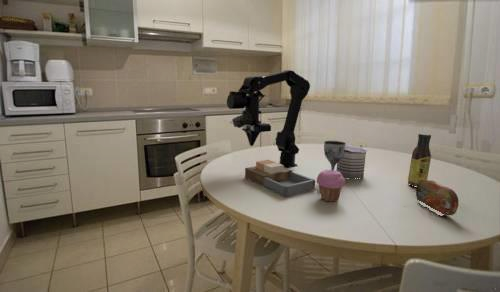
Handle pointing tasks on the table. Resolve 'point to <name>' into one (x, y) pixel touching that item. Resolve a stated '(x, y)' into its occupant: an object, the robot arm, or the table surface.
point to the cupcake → (330, 184)
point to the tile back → (262, 164)
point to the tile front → (273, 168)
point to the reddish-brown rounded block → (437, 197)
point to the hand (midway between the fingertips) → (251, 145)
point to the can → (352, 162)
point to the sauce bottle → (420, 160)
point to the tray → (290, 185)
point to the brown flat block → (266, 175)
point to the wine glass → (334, 151)
